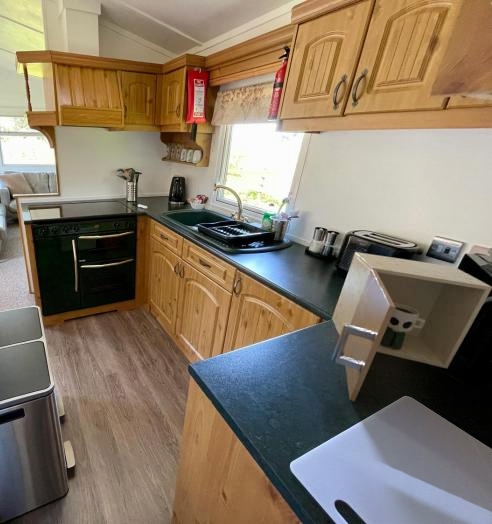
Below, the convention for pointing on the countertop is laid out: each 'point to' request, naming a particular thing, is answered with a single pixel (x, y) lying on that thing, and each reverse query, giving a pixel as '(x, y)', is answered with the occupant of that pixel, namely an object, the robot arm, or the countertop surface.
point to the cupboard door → (364, 333)
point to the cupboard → (418, 303)
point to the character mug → (401, 325)
